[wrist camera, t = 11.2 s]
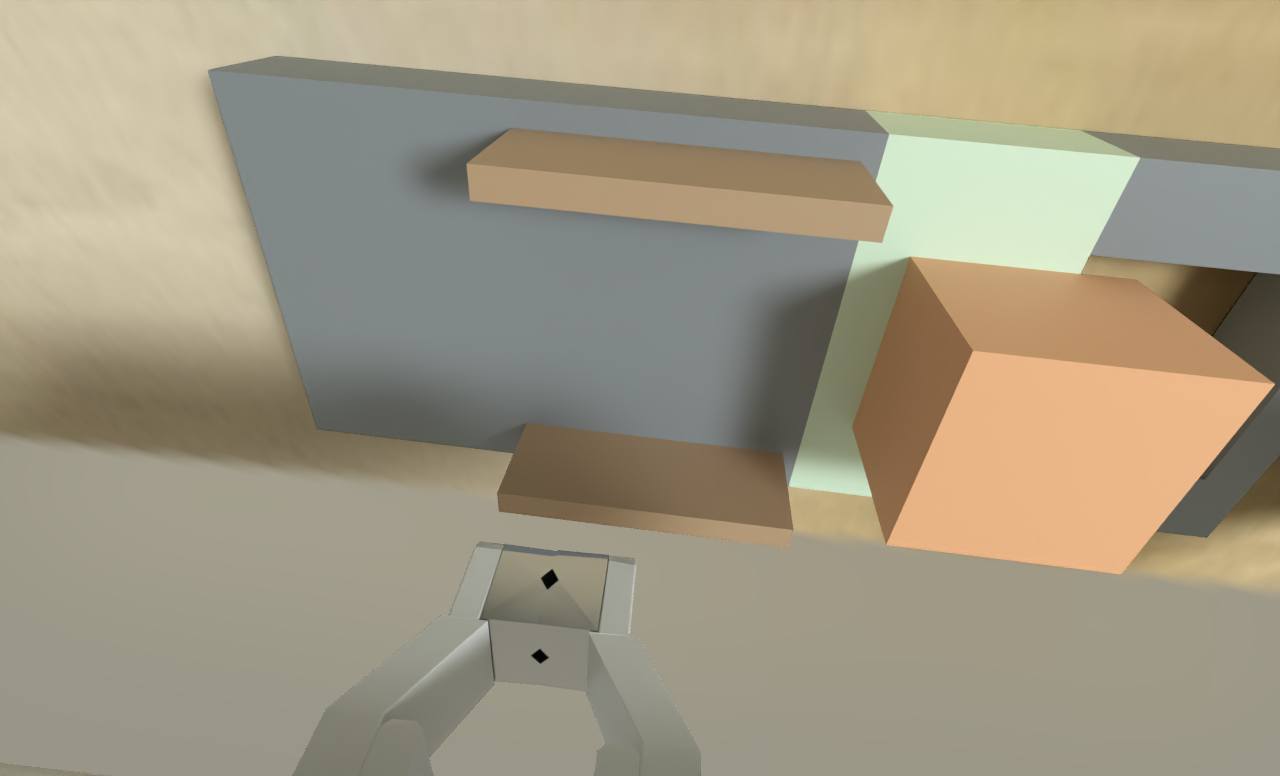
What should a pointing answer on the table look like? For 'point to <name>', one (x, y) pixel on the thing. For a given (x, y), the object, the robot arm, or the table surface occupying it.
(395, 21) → the table surface
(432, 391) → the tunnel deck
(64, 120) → the table surface
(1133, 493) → the block
